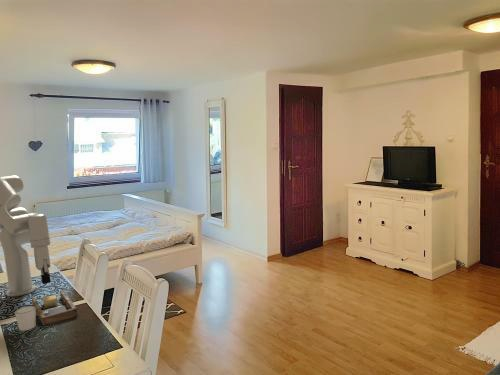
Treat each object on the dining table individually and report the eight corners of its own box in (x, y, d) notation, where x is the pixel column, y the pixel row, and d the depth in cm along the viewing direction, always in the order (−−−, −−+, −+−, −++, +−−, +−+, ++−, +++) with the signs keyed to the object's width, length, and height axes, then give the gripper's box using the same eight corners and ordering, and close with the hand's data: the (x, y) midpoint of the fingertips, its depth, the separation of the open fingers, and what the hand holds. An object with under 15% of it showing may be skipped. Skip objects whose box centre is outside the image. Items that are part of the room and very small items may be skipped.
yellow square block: (43, 304, 175) (42, 297, 175) (56, 301, 178) (55, 294, 177) (44, 308, 171) (43, 301, 170) (57, 304, 173) (56, 298, 173)
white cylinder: (28, 331, 149) (26, 313, 148) (12, 331, 151) (10, 313, 150) (41, 323, 156) (39, 306, 155) (26, 322, 157) (24, 305, 156)
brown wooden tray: (32, 304, 175) (31, 297, 174) (63, 296, 182) (62, 289, 181) (42, 325, 154) (41, 317, 153) (77, 315, 161) (76, 308, 160)
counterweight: (48, 317, 162) (47, 310, 161) (64, 312, 165) (63, 305, 165) (51, 322, 157) (50, 315, 156) (67, 317, 160) (67, 310, 160)
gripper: (28, 241, 181) (34, 281, 183) (33, 247, 168) (39, 289, 171) (46, 238, 185) (52, 277, 187) (52, 243, 173) (59, 284, 175)
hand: (46, 282), depth 179 cm, fingers closed
